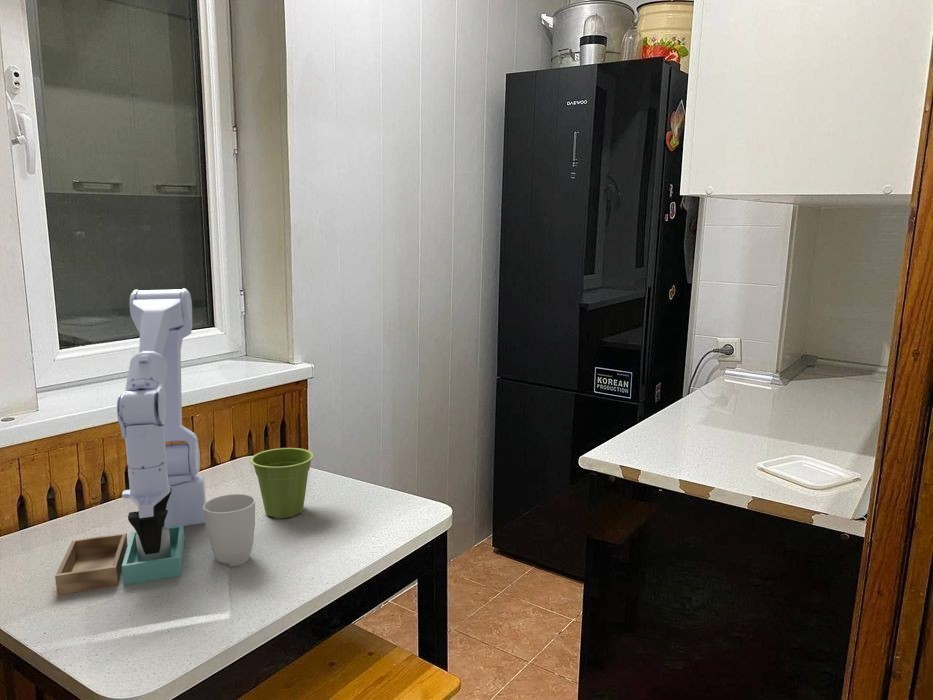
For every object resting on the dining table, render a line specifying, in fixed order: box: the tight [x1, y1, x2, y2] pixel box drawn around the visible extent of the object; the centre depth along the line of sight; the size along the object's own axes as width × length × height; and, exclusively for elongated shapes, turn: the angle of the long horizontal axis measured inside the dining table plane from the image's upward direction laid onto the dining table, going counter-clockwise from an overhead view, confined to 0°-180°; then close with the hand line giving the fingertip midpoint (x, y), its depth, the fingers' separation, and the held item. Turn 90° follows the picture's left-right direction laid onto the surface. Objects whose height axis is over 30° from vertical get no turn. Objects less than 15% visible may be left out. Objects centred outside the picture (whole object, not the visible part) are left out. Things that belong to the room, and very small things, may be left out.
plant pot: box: [249, 447, 315, 519], centre depth 137 cm, size 12×12×11 cm
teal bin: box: [121, 525, 186, 586], centre depth 116 cm, size 8×13×4 cm, turn 19°
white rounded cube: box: [136, 527, 171, 562], centre depth 115 cm, size 5×5×5 cm
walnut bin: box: [54, 532, 129, 596], centre depth 113 cm, size 8×13×4 cm, turn 19°
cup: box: [203, 493, 256, 568], centre depth 117 cm, size 8×8×10 cm
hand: (154, 542), depth 115 cm, fingers open, 7 cm apart
